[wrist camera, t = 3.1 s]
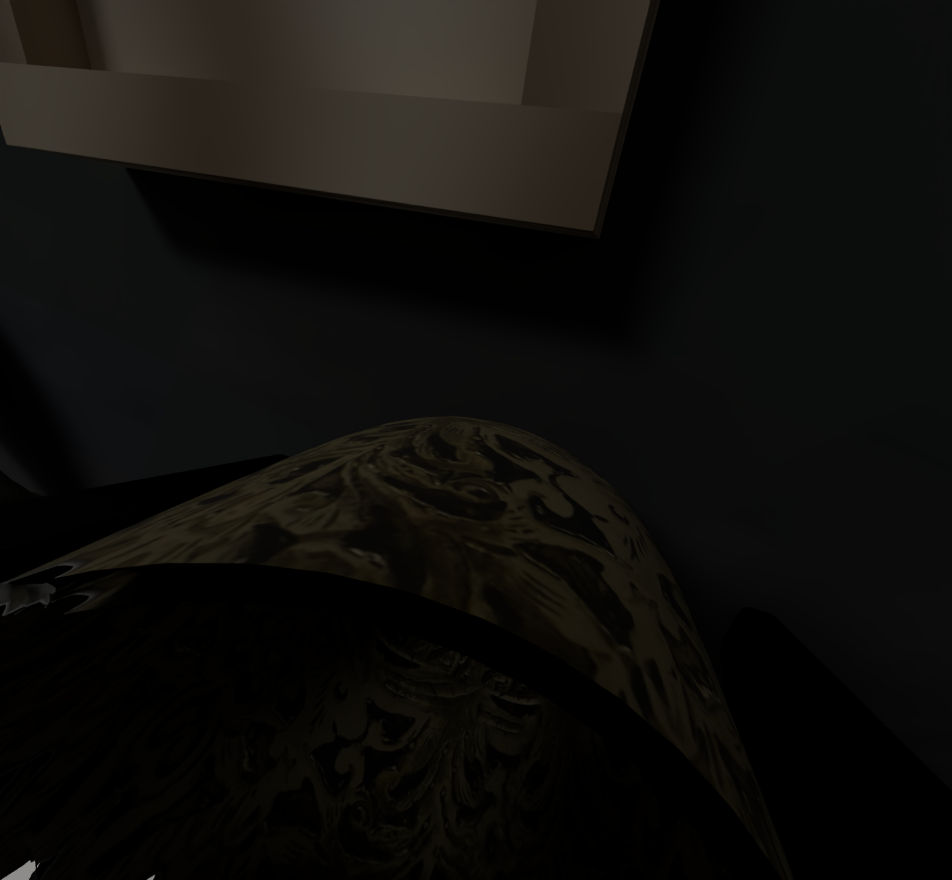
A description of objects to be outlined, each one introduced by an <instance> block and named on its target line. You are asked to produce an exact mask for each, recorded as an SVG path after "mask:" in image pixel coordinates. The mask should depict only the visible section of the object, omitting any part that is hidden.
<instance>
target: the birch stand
mask: <svg viewBox="0 0 952 880" xmlns="http://www.w3.org/2000/svg"><path fill="white" fill-rule="evenodd" d="M659 3H660V0H0V125H1V128H2V131H3V134H4V137H5V140H6V143H7V145H12V146H17V147H23V148H28V149H33V150H38V151H43V152H48V153H53V154H59V155H64V156H69V157H74V158H79V159H84V160H89V161H95V162H100V163H105V164H110V165H115V166H120V167H126V168H133V169H139V170H146V171H153V172H159V173H166V174H172V175H179V176H186V177H192V178H199V179H205V180H212V181H218V182H225V183H232V184H238V185H245V186H251V187H258V188H264V189H271V190H278V191H284V192H291V193H297V194H304V195H311V196H317V197H324V198H330V199H337V200H343V201H350V202H357V203H363V204H370V205H376V206H383V207H389V208H396V209H403V210H409V211H416V212H422V213H429V214H436V215H442V216H449V217H455V218H462V219H468V220H475V221H482V222H488V223H495V224H501V225H508V226H514V227H521V228H528V229H534V230H541V231H547V232H554V233H561V234H567V235H574V236H580V237H587V238H593V239H599V237H600V233H601V230H602V226H603V222H604V218H605V214H606V210H607V206H608V202H609V198H610V194H611V191H612V187H613V183H614V179H615V175H616V171H617V167H618V163H619V159H620V155H621V152H622V148H623V144H624V140H625V136H626V132H627V128H628V124H629V120H630V116H631V113H632V109H633V105H634V101H635V97H636V93H637V89H638V85H639V81H640V77H641V74H642V70H643V66H644V62H645V58H646V54H647V50H648V46H649V42H650V38H651V35H652V31H653V27H654V23H655V19H656V15H657V11H658V7H659Z"/></svg>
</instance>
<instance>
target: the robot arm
mask: <svg viewBox="0 0 952 880" xmlns="http://www.w3.org/2000/svg"><path fill="white" fill-rule="evenodd" d="M287 458H290V457H289V456H286V455H283V454H278V455H273V456H267V457H262V458H256V459H250V460H245V461H239V462H234V463H228V464H223V465H217V466H212V467H206V468H201V469H195V470H190V471H184V472H178V473H173V474H167V475H162V476H156V477H151V478H145V479H140V480H134V481H129V482H123V483H118V484H112V485H106V486H101V487H95V488H90V489H84V490H79V491H73V492H68V493H66V494H65V495H64V494H56V495H51V496H45V497H40V498H34V499H28V500H22V501H17V502H11V503H5V504H0V583H2V582H6V581H8V580H10V579H13V578H15V577H17V576H20V575H22V574H24V573H26V572H29V571H31V570H33V569H35V568H38V567H40V566H42V565H45V564H47V563H49V562H51V561H54V560H56V559H58V558H60V557H63V556H65V555H67V554H69V553H72V552H74V551H76V550H78V549H80V548H83V547H85V546H87V545H89V544H92V543H94V542H96V541H98V540H101V539H103V538H105V537H107V536H110V535H112V534H114V533H116V532H119V531H121V530H123V529H125V528H128V527H130V526H132V525H134V524H136V523H139V522H141V521H143V520H146V519H148V518H150V517H152V516H155V515H157V514H159V513H161V512H164V511H166V510H168V509H171V508H173V507H175V506H177V505H180V504H182V503H184V502H187V501H189V500H191V499H193V498H196V497H198V496H200V495H203V494H205V493H207V492H210V491H212V490H214V489H217V488H219V487H221V486H224V485H226V484H228V483H230V482H233V481H235V480H238V479H240V478H242V477H245V476H247V475H249V474H252V473H254V472H256V471H259V470H261V469H263V468H266V467H268V466H270V465H273V464H275V463H278V462H280V461H282V460H285V459H287ZM720 652H721V666H722V680H723V694H724V697H725V699H726V702H727V705H728V707H729V710H730V712H731V715H732V717H733V720H734V723H735V725H736V728H737V730H738V733H739V736H740V738H741V741H742V743H743V746H744V749H745V751H746V754H747V756H748V759H749V762H750V764H751V767H752V769H753V772H754V774H755V777H756V780H757V782H758V785H759V788H760V790H761V793H762V796H763V798H764V801H765V803H766V806H767V809H768V811H769V814H770V817H771V819H772V822H773V824H774V827H775V830H776V832H777V835H778V838H779V840H780V843H781V846H782V848H783V851H784V853H785V856H786V859H787V861H788V864H789V867H790V869H791V872H792V875H793V877H794V880H952V791H951V790H950V789H949V788H948V787H947V786H946V785H945V784H944V783H943V782H942V781H941V780H940V779H939V778H938V777H937V776H936V775H935V774H934V773H933V772H932V771H931V770H930V769H929V768H928V767H927V766H926V765H925V764H924V763H923V762H922V761H921V760H920V759H919V758H918V757H917V756H916V755H915V754H914V753H913V752H912V751H911V750H910V749H909V748H908V747H907V746H906V745H905V744H904V743H902V742H901V741H900V740H899V739H898V738H897V737H896V736H895V735H894V734H893V733H892V732H891V731H890V730H889V729H888V728H887V727H886V726H885V725H884V724H883V723H882V722H881V721H880V720H879V719H878V718H877V717H876V716H875V715H874V714H873V713H872V712H871V711H870V710H869V709H868V708H867V707H866V706H865V705H864V704H863V703H862V702H861V701H860V700H859V699H858V698H857V697H856V696H855V695H854V694H853V693H852V692H851V691H850V690H849V689H848V688H847V687H846V686H845V685H844V684H843V683H842V682H841V681H840V680H839V679H838V678H837V677H836V676H835V675H834V674H833V673H832V672H831V671H830V670H829V669H828V668H827V667H826V666H825V665H824V664H823V663H822V662H821V661H820V660H819V659H818V658H817V657H816V656H815V655H814V654H813V653H812V652H811V651H810V650H809V649H808V648H807V647H806V646H804V645H803V644H802V643H801V642H800V641H799V640H798V639H797V638H796V637H795V636H794V635H793V634H792V633H791V632H790V631H789V630H788V629H787V628H786V627H785V626H784V625H783V624H782V623H781V622H780V621H779V620H778V619H777V618H776V617H775V616H773V615H772V614H769V613H767V612H763V611H760V610H757V609H754V608H751V607H745V608H743V609H741V611H740V612H739V613H738V615H737V616H736V618H735V619H734V621H733V622H732V624H731V625H730V627H729V628H728V630H727V632H726V633H725V635H724V636H723V639H722V642H721V648H720ZM21 767H22V766H21ZM21 767H18V768H16V769H13V770H12V771H10V772H8V773H6V774H4V775H3V776H0V790H1V789H2V788H3V787H4V785H5V784H6V783H8V781H9V780H10V779H11V778H12V777H13V776H14V774H15V773H16V772H17V771H18V770H19V769H20V768H21Z"/></svg>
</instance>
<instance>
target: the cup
mask: <svg viewBox="0 0 952 880" xmlns="http://www.w3.org/2000/svg"><path fill="white" fill-rule="evenodd" d="M21 766H22V767H21ZM18 767H21V768H20V769H19V770H18V771H17V772H16V773H15V774H14V776H13V777H12V778H11V779H10V780H9V781H8V783H6V784H5V785H4V787H3V788H2V789H1V790H0V880H1V879H3V878H4V877H6V876H7V875H9V874H11V873H12V872H14V871H15V870H17V869H18V868H20V867H21V866H23V865H24V864H25V863H27V862H28V861H29V860H30V861H31V862H33V861H35V865H36V868H37V869H36V870H35V871H34V872H33V873H32V875H31V877H30V879H29V880H147V879H148V878H150V877H152V876H153V875H155V877H154V879H153V880H794V877H793V875H792V872H791V869H790V867H789V864H788V861H787V859H786V856H785V853H784V851H783V848H782V846H781V843H780V840H779V838H778V835H777V832H776V830H775V827H774V824H773V822H772V819H771V817H770V814H769V811H768V809H767V806H766V803H765V801H764V798H763V796H762V793H761V790H760V788H759V785H758V782H757V780H756V777H755V774H754V772H753V769H752V767H751V764H750V762H749V759H748V756H747V754H746V751H745V749H744V746H743V743H742V741H741V738H740V736H739V733H738V730H737V728H736V725H735V723H734V720H733V717H732V715H731V712H730V710H729V707H728V705H727V702H726V699H725V697H724V694H723V692H722V689H721V687H720V684H719V682H718V679H717V676H716V674H715V671H714V669H713V666H712V664H711V661H710V659H709V656H708V654H707V651H706V649H705V647H704V644H703V642H702V639H701V637H700V634H699V632H698V630H697V627H696V625H695V623H694V620H693V618H692V615H691V613H690V611H689V608H688V606H687V604H686V601H685V599H684V597H683V594H682V592H681V590H680V588H679V586H678V584H677V582H676V580H675V578H674V576H673V574H672V572H671V570H670V568H669V566H668V564H667V562H666V561H665V559H664V557H663V555H662V554H661V552H660V550H659V548H658V547H657V545H656V543H655V541H654V540H653V538H652V537H651V535H650V534H649V532H648V531H647V529H646V528H645V526H644V525H643V523H642V522H641V521H640V519H639V518H638V517H637V515H636V514H635V513H634V511H633V510H632V509H631V507H630V506H629V504H628V503H627V502H626V501H625V500H624V499H623V498H622V497H621V496H620V495H619V494H618V493H617V491H616V490H615V489H614V488H613V487H612V486H611V485H610V484H609V483H608V482H606V481H605V480H604V479H603V478H602V477H600V476H599V475H598V474H597V473H596V472H595V471H593V470H592V469H591V468H590V467H589V466H587V465H586V464H585V463H583V462H582V461H581V460H579V459H578V458H576V457H575V456H573V455H572V454H570V453H569V452H567V451H566V450H564V449H563V448H561V447H559V446H557V445H555V444H553V443H552V442H550V441H548V440H546V439H544V438H542V437H539V436H537V435H535V434H532V433H530V432H528V431H525V430H522V429H519V428H516V427H513V426H509V425H506V424H503V423H498V422H493V421H488V420H482V419H476V418H468V417H456V416H433V417H423V418H416V419H409V420H403V421H398V422H392V423H387V424H383V425H380V426H376V427H373V428H369V429H366V430H363V431H360V432H356V433H353V434H350V435H347V436H344V437H340V438H338V439H335V440H332V441H330V442H327V443H325V444H322V445H319V446H317V447H314V448H311V449H309V450H306V451H304V452H302V453H299V454H297V455H294V456H292V457H290V458H287V459H285V460H282V461H280V462H278V463H275V464H273V465H270V466H268V467H266V468H263V469H261V470H259V471H256V472H254V473H252V474H249V475H247V476H245V477H242V478H240V479H238V480H235V481H233V482H230V483H228V484H226V485H224V486H221V487H219V488H217V489H214V490H212V491H210V492H207V493H205V494H203V495H200V496H198V497H196V498H193V499H191V500H189V501H187V502H184V503H182V504H180V505H177V506H175V507H173V508H171V509H168V510H166V511H164V512H161V513H159V514H157V515H155V516H152V517H150V518H148V519H146V520H143V521H141V522H139V523H136V524H134V525H132V526H130V527H128V528H125V529H123V530H121V531H119V532H116V533H114V534H112V535H110V536H107V537H105V538H103V539H101V540H98V541H96V542H94V543H92V544H89V545H87V546H85V547H83V548H80V549H78V550H76V551H74V552H72V553H69V554H67V555H65V556H63V557H60V558H58V559H56V560H54V561H51V562H49V563H47V564H45V565H42V566H40V567H38V568H35V569H33V570H31V571H29V572H26V573H24V574H22V575H20V576H17V577H15V578H13V579H10V580H8V581H6V582H2V583H0V776H3V775H4V774H6V773H8V772H10V771H12V770H13V769H16V768H18ZM39 863H40V864H39ZM38 864H39V866H38V867H37V865H38Z"/></svg>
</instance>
